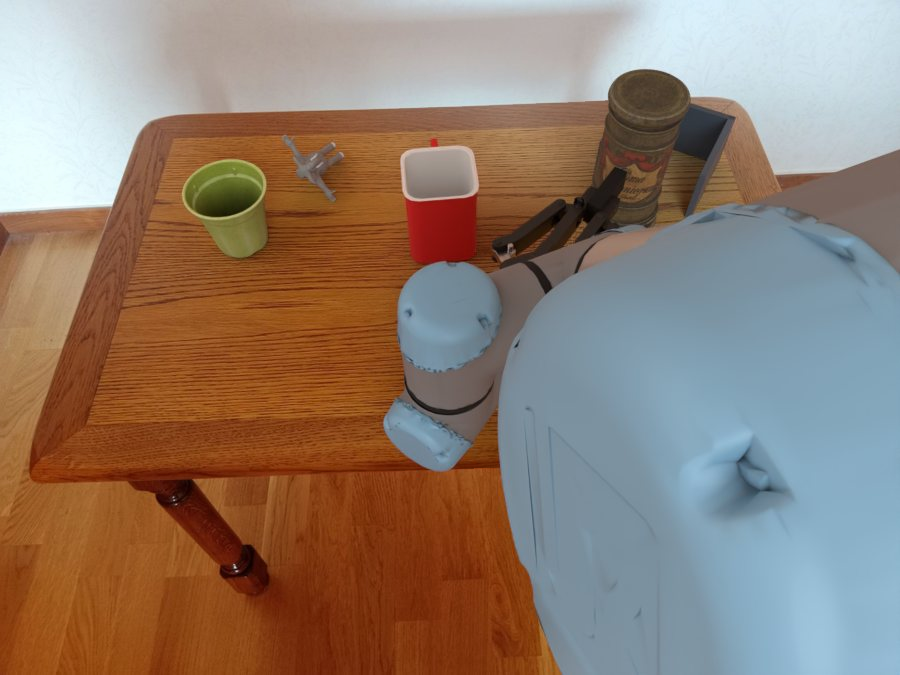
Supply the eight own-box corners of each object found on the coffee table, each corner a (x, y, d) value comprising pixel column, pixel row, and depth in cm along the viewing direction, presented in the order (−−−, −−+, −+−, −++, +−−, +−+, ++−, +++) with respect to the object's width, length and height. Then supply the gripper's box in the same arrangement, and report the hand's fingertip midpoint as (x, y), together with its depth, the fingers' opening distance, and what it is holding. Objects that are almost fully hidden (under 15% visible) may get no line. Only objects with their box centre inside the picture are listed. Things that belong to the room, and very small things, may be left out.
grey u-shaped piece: (690, 218, 87) (706, 176, 81) (591, 183, 91) (599, 140, 85) (719, 160, 93) (736, 116, 87) (624, 129, 96) (635, 85, 90)
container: (581, 187, 90) (604, 63, 75) (653, 192, 90) (690, 67, 75) (581, 240, 85) (606, 118, 70) (657, 245, 85) (698, 123, 70)
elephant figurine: (373, 171, 93) (339, 196, 86) (345, 194, 96) (310, 220, 89) (325, 107, 91) (285, 128, 84) (298, 132, 94) (258, 154, 87)
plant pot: (288, 212, 89) (272, 159, 82) (275, 270, 84) (257, 219, 76) (214, 211, 89) (192, 158, 82) (197, 269, 84) (172, 218, 77)
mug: (479, 261, 84) (481, 196, 75) (409, 267, 83) (403, 202, 75) (468, 189, 90) (469, 122, 82) (404, 194, 90) (397, 127, 81)
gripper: (450, 317, 72) (562, 180, 83) (562, 378, 68) (665, 225, 79) (449, 271, 66) (570, 129, 77) (572, 335, 62) (683, 175, 73)
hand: (618, 178), depth 78 cm, fingers closed
